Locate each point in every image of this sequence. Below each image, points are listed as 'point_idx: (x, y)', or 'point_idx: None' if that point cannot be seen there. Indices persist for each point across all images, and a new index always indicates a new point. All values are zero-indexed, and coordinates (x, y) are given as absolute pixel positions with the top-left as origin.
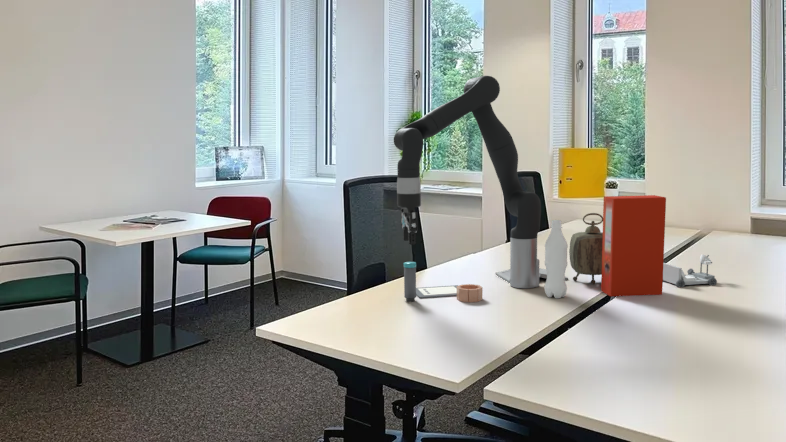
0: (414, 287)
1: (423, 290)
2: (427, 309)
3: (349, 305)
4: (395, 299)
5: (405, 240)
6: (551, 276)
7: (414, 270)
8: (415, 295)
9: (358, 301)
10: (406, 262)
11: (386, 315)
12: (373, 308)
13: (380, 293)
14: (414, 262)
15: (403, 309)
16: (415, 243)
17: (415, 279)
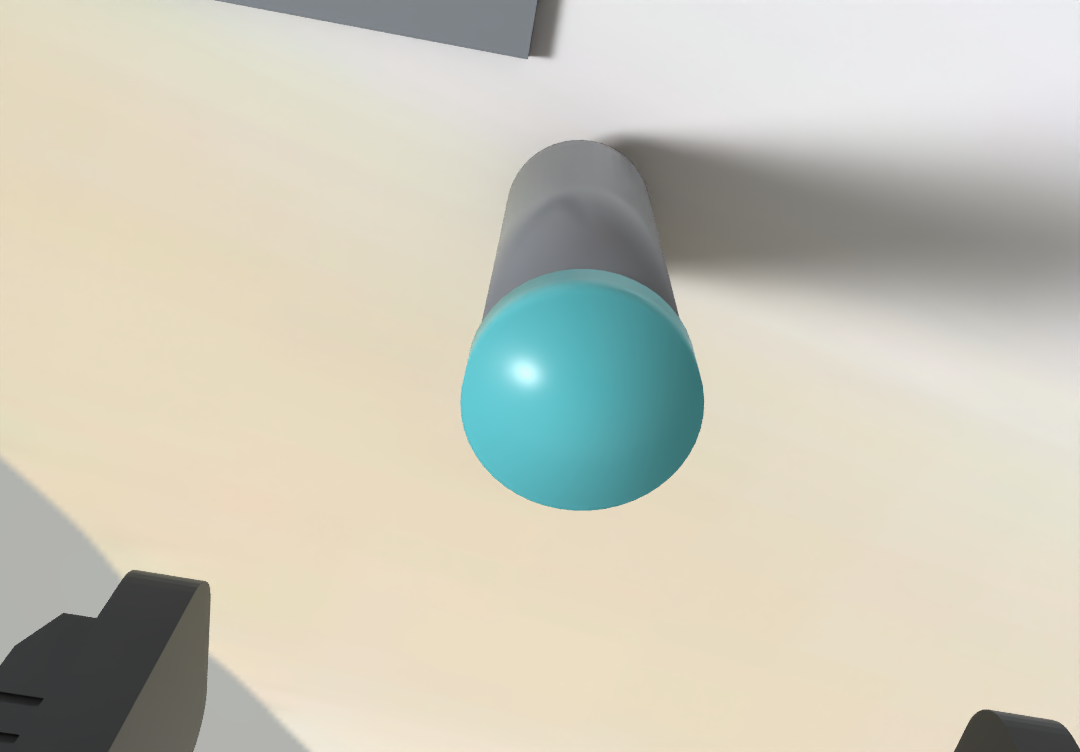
0: (654, 222)
1: None
2: (1025, 179)
3: (497, 728)
4: (453, 323)
5: (203, 685)
6: None
7: (674, 308)
8: (637, 174)
9: (390, 636)
10: (511, 443)
11: (969, 590)
12: (690, 606)
13: (132, 369)
14: (579, 315)
15: (874, 397)
16: (1055, 733)
17: (647, 233)
